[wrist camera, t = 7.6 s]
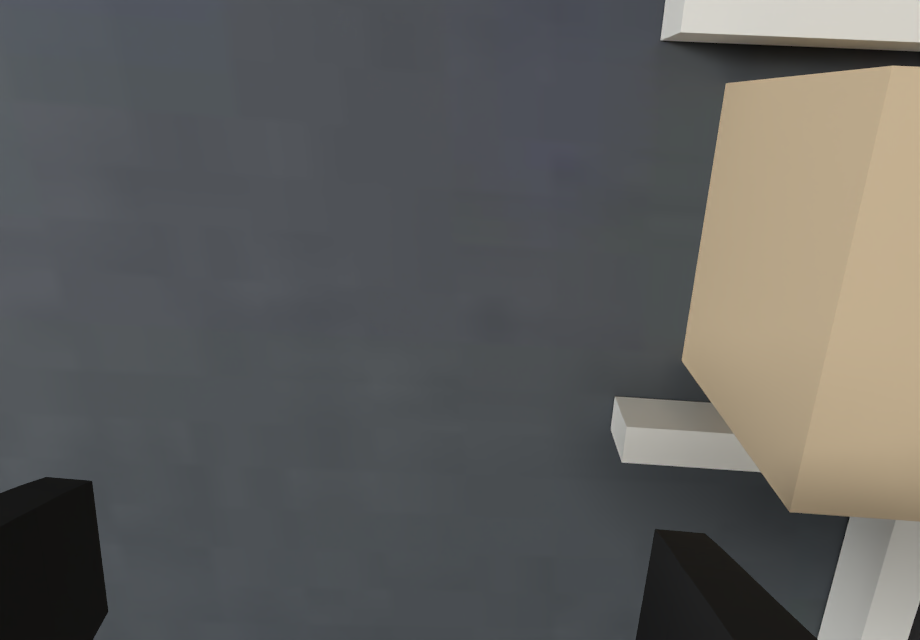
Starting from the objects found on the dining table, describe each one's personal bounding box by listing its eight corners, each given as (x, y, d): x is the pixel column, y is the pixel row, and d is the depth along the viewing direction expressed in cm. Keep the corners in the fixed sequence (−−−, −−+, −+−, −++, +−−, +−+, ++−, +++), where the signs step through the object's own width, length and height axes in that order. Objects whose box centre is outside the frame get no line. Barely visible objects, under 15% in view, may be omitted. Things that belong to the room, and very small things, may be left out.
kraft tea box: (841, 370, 18) (1048, 531, 11) (681, 360, 18) (789, 512, 11) (908, 91, 15) (1218, 79, 9) (725, 83, 16) (892, 65, 9)
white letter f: (854, 679, 21) (885, 731, 19) (581, 656, 21) (588, 706, 19) (1050, 8, 15) (1123, -6, 13) (666, -8, 15) (687, -23, 13)
